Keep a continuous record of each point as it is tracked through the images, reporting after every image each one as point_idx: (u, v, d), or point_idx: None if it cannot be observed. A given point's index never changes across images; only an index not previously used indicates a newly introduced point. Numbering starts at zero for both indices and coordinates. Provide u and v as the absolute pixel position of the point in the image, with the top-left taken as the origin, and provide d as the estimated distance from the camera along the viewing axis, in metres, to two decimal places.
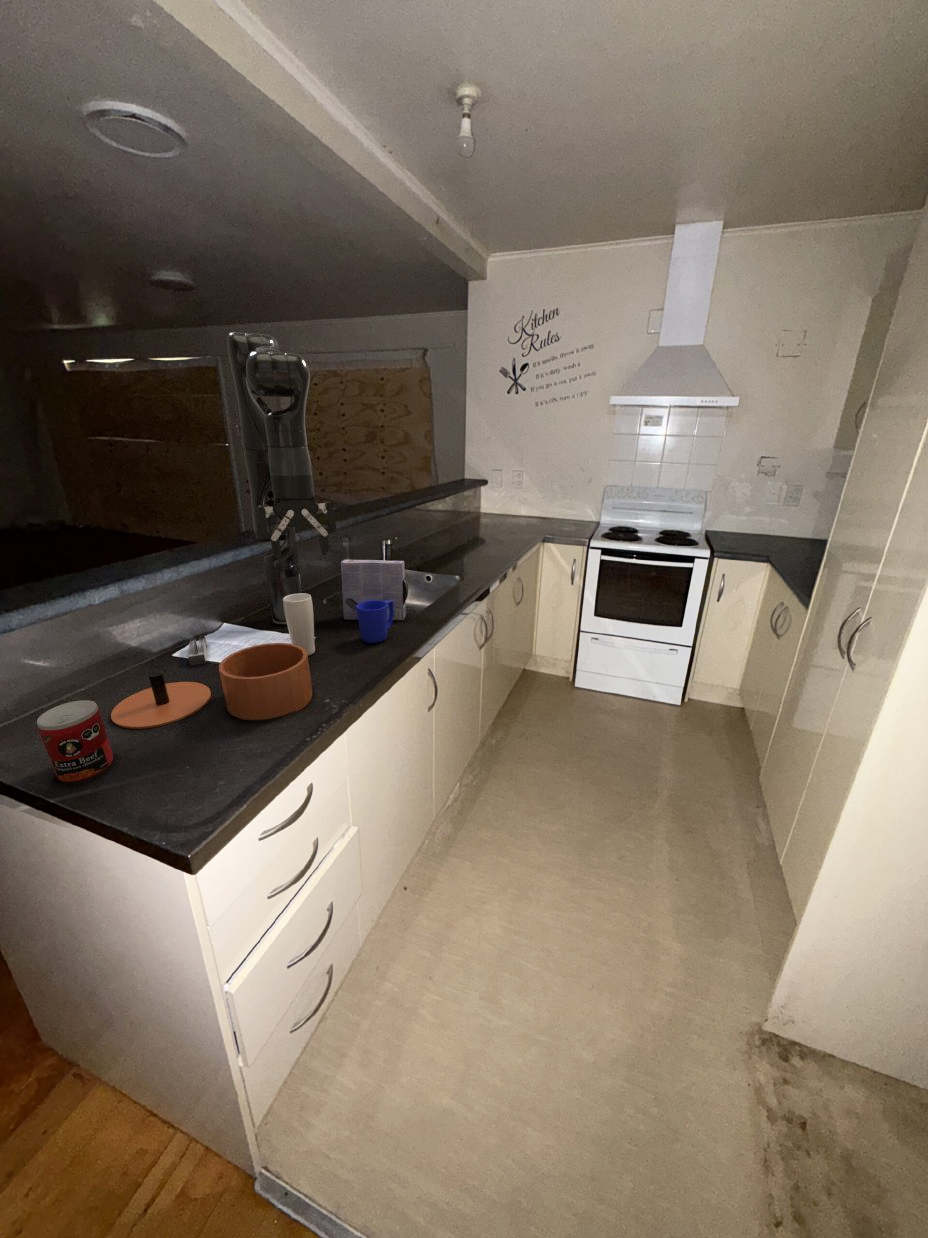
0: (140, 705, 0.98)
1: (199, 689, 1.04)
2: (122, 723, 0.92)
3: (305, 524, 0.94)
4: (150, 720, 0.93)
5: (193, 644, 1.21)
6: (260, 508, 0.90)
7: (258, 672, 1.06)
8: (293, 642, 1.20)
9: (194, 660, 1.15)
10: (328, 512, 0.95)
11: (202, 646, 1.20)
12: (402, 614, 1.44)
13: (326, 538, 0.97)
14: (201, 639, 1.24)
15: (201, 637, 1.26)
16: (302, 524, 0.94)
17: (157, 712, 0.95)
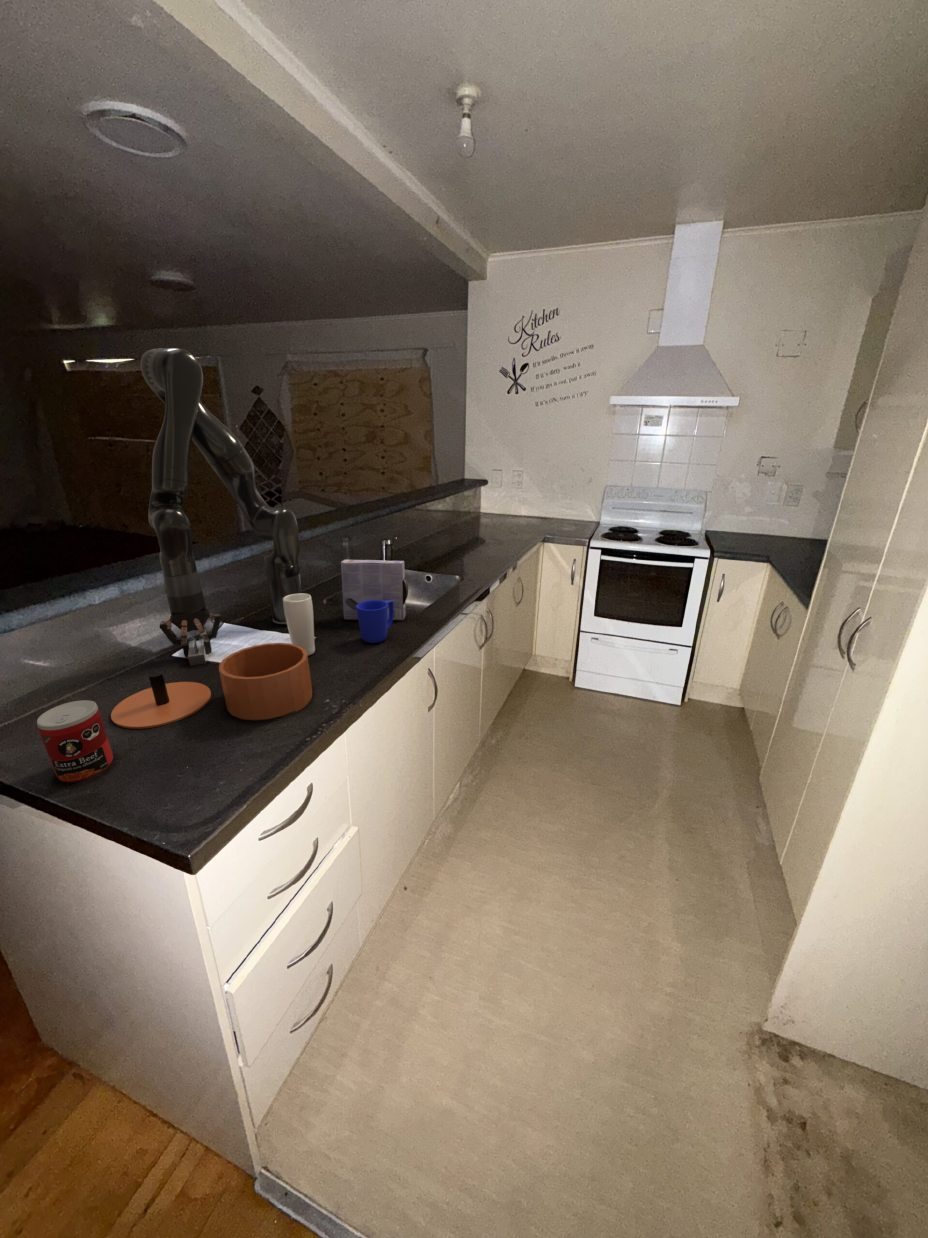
0: (140, 705, 0.98)
1: (199, 689, 1.04)
2: (122, 723, 0.92)
3: None
4: (150, 720, 0.93)
5: (193, 644, 1.21)
6: (160, 626, 1.15)
7: (258, 672, 1.06)
8: (293, 642, 1.20)
9: (194, 660, 1.15)
10: (215, 623, 1.20)
11: (202, 646, 1.20)
12: (402, 614, 1.44)
13: (208, 643, 1.21)
14: (201, 639, 1.24)
15: (201, 637, 1.26)
16: (195, 629, 1.18)
17: (157, 712, 0.95)
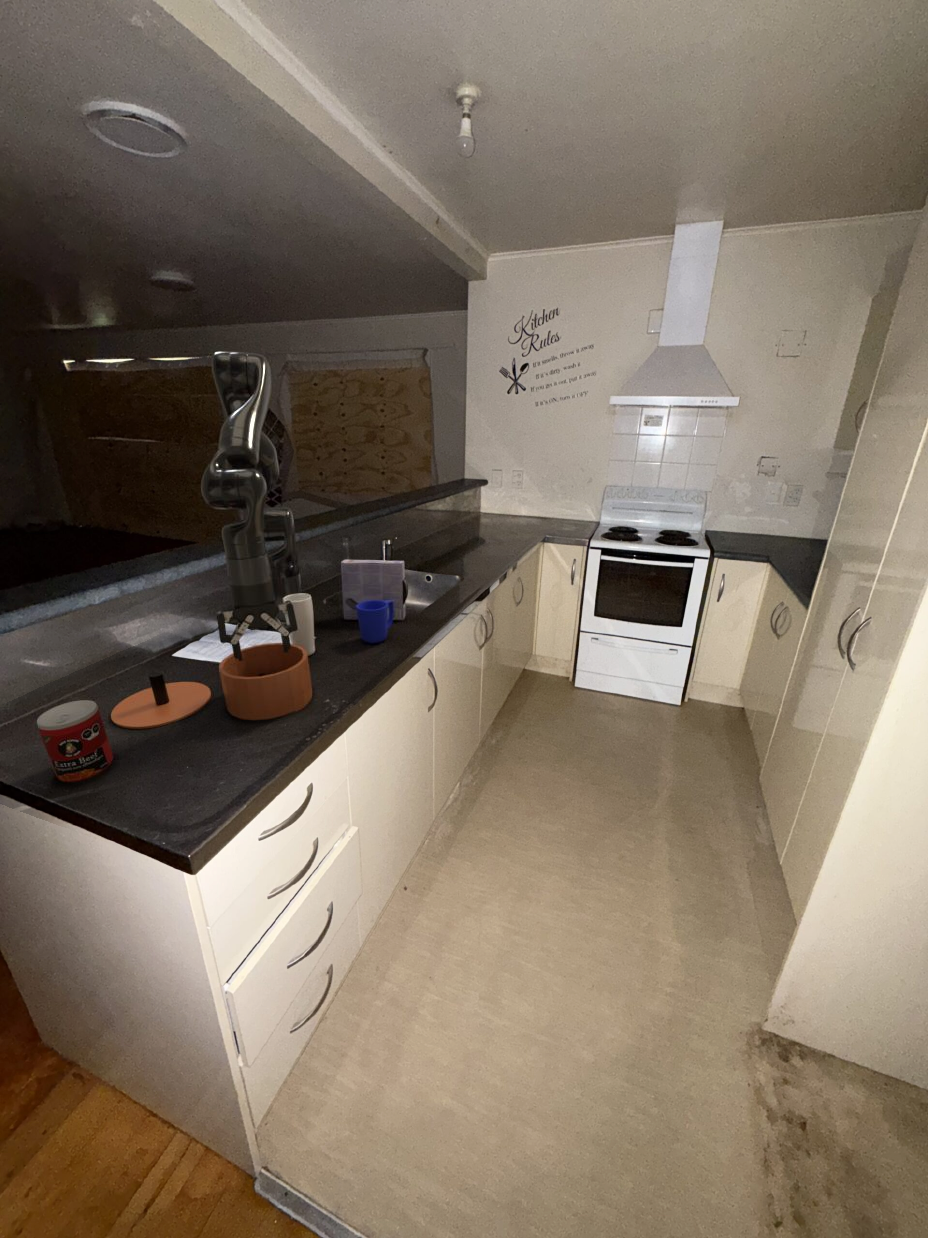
0: (140, 705, 0.98)
1: (199, 689, 1.04)
2: (122, 723, 0.92)
3: (265, 626, 0.95)
4: (150, 720, 0.93)
5: None
6: (219, 615, 0.90)
7: (258, 672, 1.06)
8: (293, 642, 1.20)
9: None
10: (289, 613, 0.96)
11: None
12: (402, 614, 1.44)
13: (287, 637, 0.98)
14: None
15: (272, 673, 1.05)
16: (262, 626, 0.95)
17: (157, 712, 0.95)
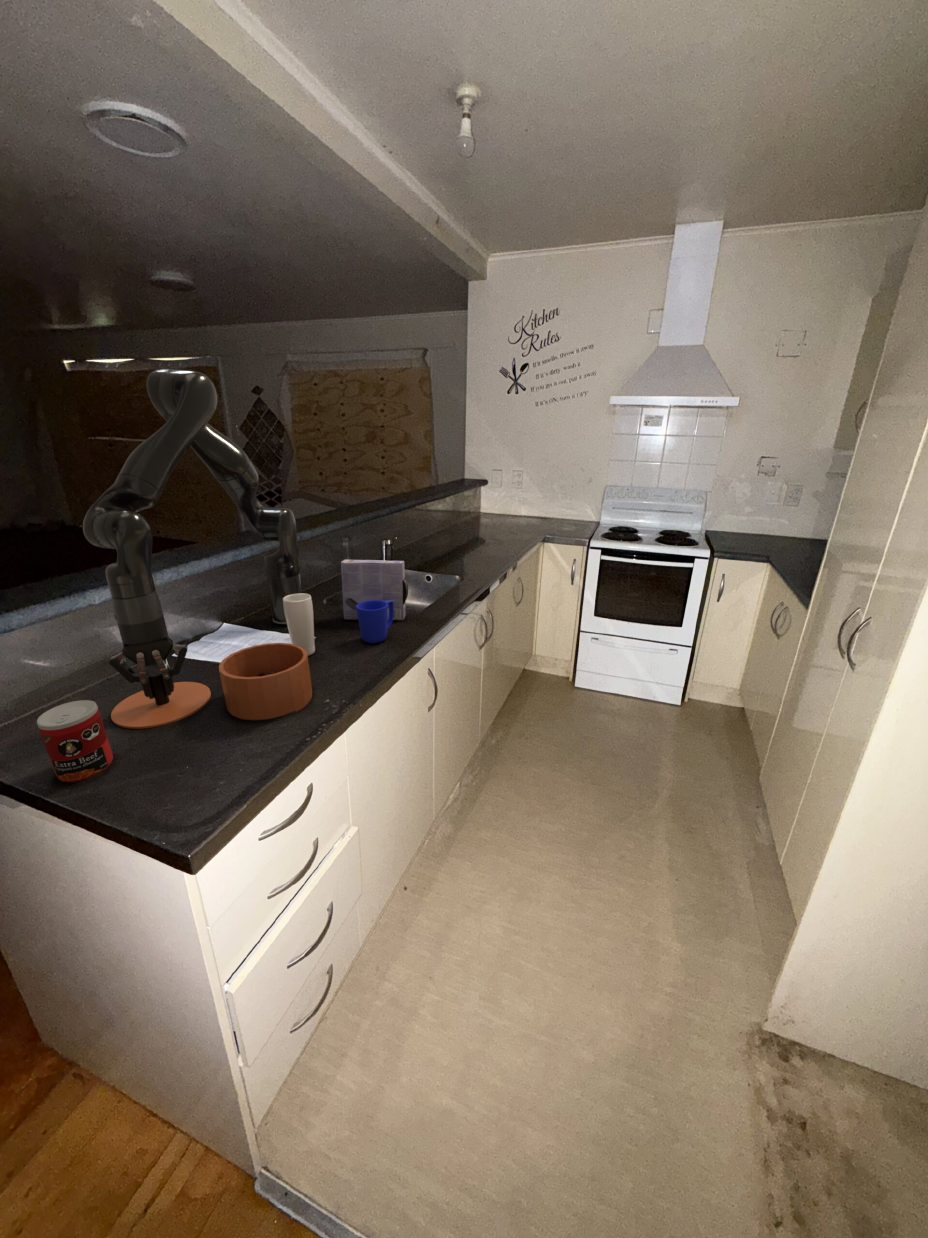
0: (140, 705, 0.98)
1: (199, 689, 1.04)
2: (122, 723, 0.92)
3: None
4: (150, 720, 0.93)
5: None
6: (111, 662, 0.91)
7: (258, 672, 1.06)
8: (293, 642, 1.20)
9: None
10: (179, 656, 0.96)
11: None
12: (402, 614, 1.44)
13: (169, 680, 0.97)
14: None
15: (272, 673, 1.05)
16: (155, 663, 0.95)
17: (157, 712, 0.95)
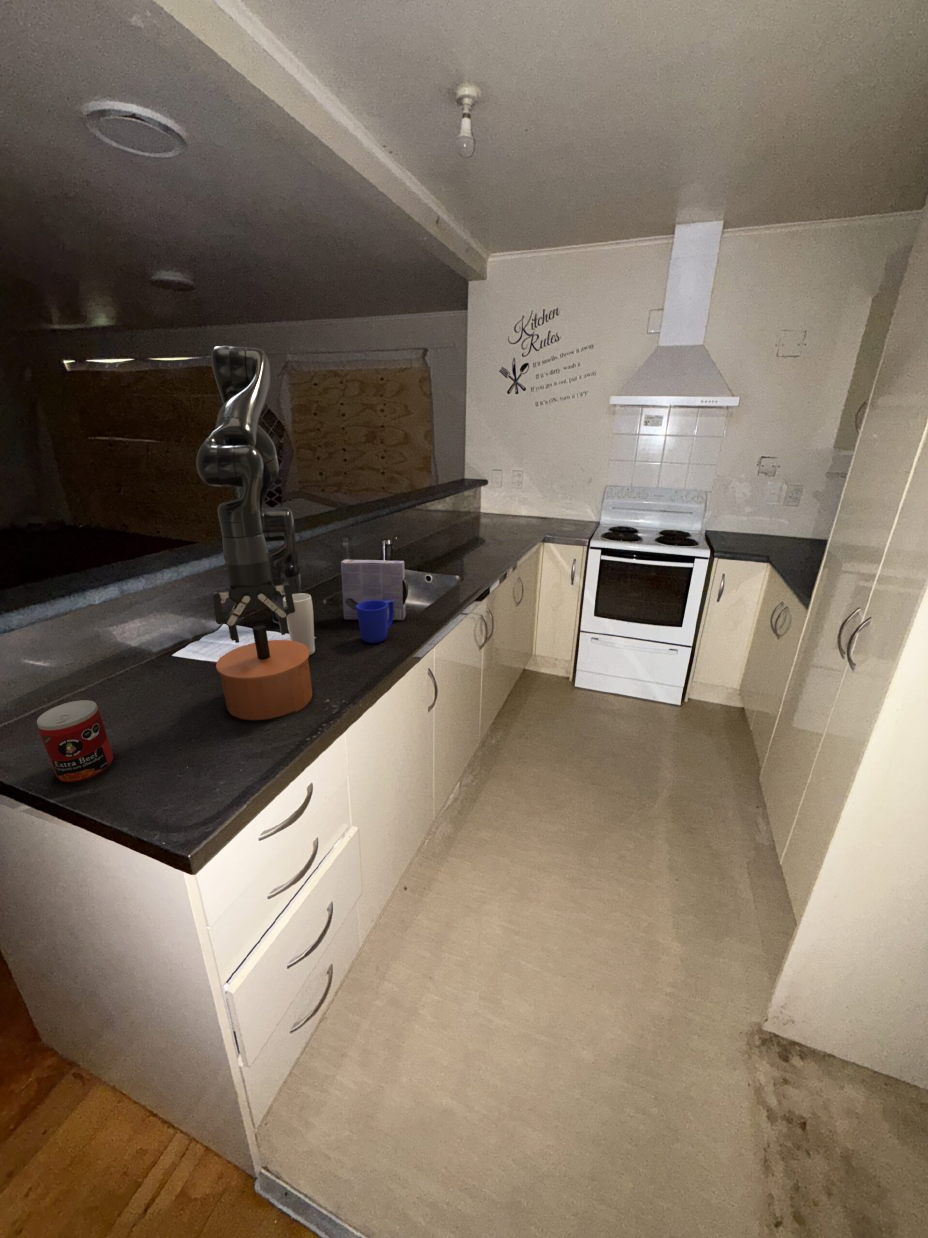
0: (242, 659, 0.97)
1: (296, 646, 1.03)
2: (231, 674, 0.91)
3: (262, 607, 0.94)
4: (258, 672, 0.92)
5: None
6: (215, 595, 0.89)
7: None
8: None
9: None
10: (286, 594, 0.95)
11: None
12: (402, 614, 1.44)
13: (285, 619, 0.97)
14: None
15: None
16: (259, 607, 0.93)
17: (262, 665, 0.94)
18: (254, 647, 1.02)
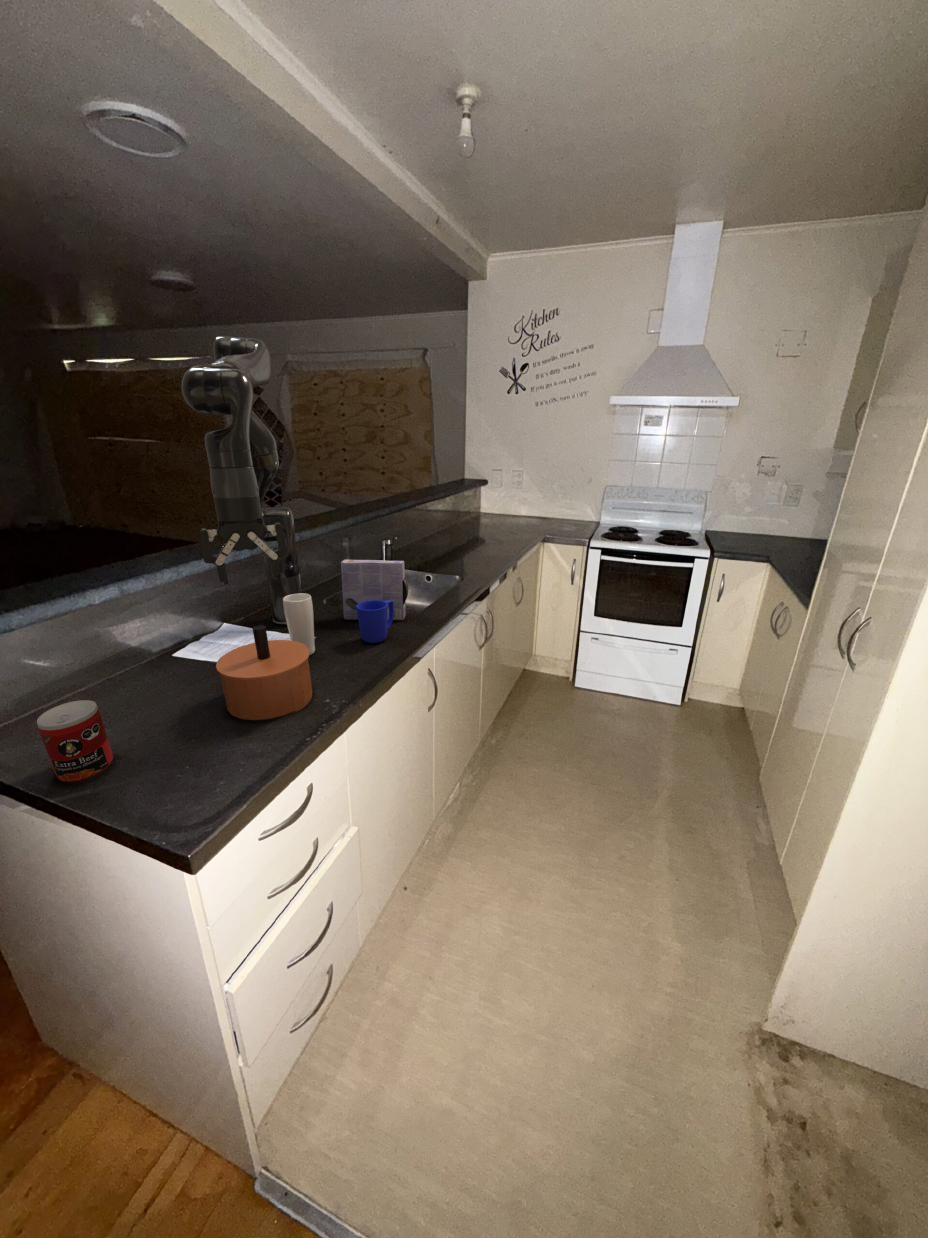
0: (242, 659, 0.97)
1: (296, 646, 1.03)
2: (231, 674, 0.91)
3: (253, 547, 0.89)
4: (258, 672, 0.92)
5: None
6: (202, 532, 0.85)
7: None
8: None
9: None
10: (277, 534, 0.90)
11: None
12: (402, 614, 1.44)
13: (276, 561, 0.92)
14: None
15: None
16: (249, 547, 0.89)
17: (262, 665, 0.94)
18: (254, 647, 1.02)
